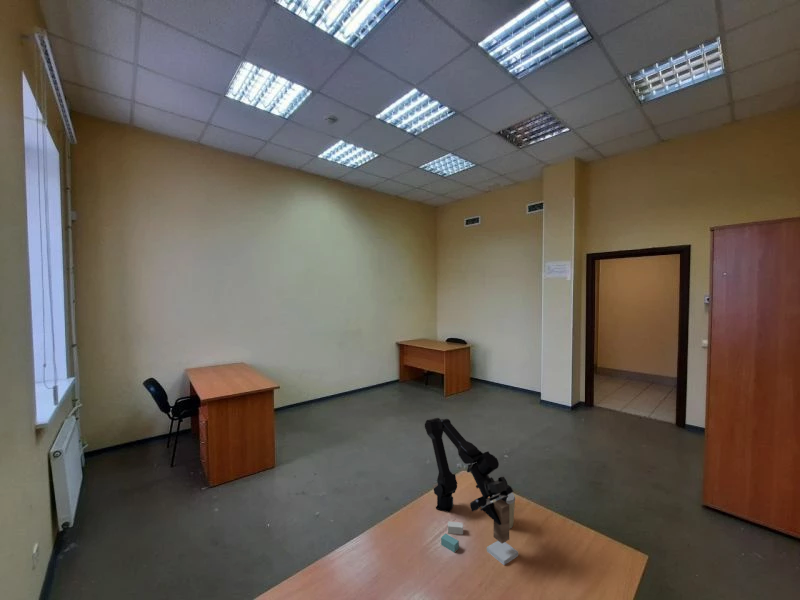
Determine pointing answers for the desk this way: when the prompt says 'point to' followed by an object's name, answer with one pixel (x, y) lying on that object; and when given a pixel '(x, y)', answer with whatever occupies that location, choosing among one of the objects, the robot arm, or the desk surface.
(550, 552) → the desk surface
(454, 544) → the teal brick
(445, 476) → the robot arm
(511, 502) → the coffee cup
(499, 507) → the walnut block
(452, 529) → the light grey brick
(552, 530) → the desk surface
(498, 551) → the grey slab
